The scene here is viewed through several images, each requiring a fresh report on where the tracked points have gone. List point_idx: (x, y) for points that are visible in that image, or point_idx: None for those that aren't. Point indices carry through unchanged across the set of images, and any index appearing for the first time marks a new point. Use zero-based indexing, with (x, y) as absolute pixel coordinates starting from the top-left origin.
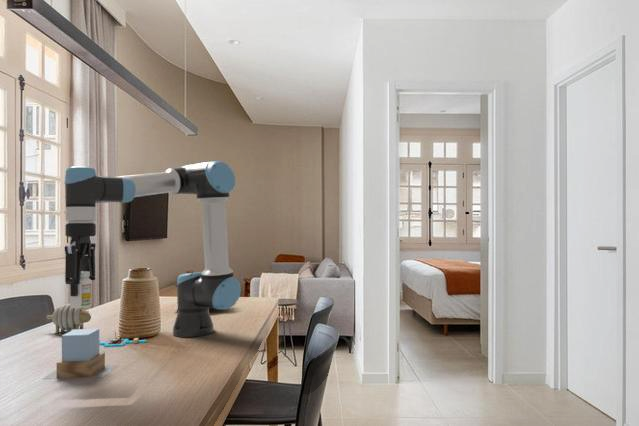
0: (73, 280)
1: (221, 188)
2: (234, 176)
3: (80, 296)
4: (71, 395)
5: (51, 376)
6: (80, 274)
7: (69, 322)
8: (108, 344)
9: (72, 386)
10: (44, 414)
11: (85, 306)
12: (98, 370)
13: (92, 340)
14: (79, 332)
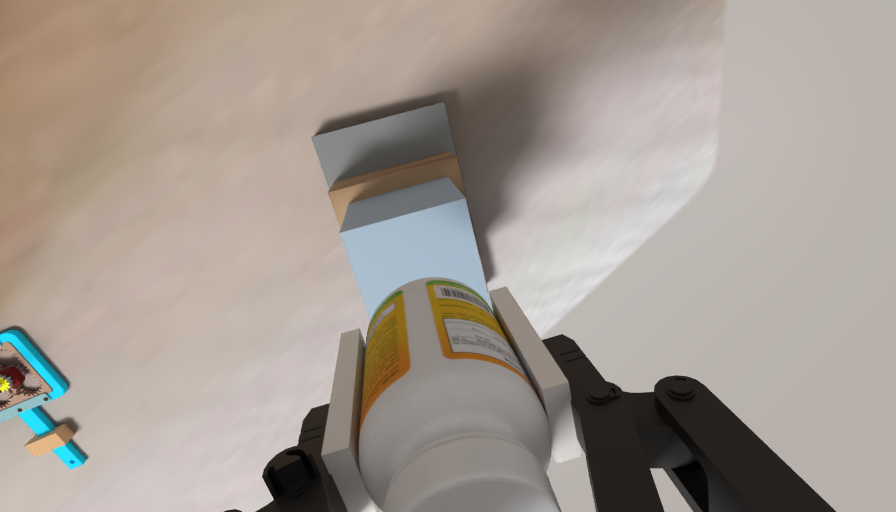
0: (704, 393)
1: None
2: None
3: (526, 323)
4: (555, 130)
5: None
6: (591, 463)
7: None
8: (44, 386)
9: (486, 184)
10: (685, 103)
11: (464, 284)
12: (389, 167)
13: (417, 201)
14: (426, 276)
